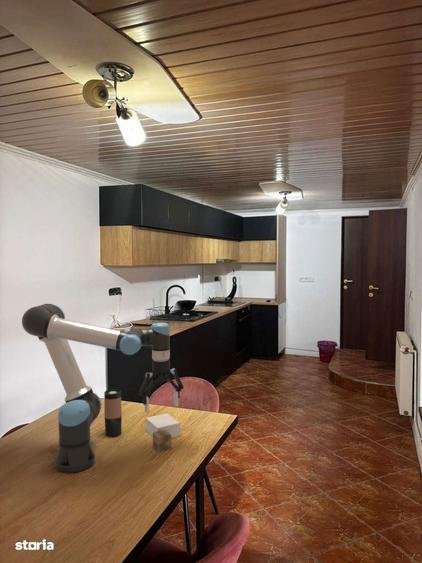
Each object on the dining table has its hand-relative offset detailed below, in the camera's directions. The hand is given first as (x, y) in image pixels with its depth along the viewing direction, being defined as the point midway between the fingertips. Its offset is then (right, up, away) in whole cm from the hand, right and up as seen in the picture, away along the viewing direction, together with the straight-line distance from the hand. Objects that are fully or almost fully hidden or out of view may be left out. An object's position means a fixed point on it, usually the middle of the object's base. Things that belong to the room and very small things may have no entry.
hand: (161, 408), depth 171 cm
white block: (-1, -16, +15) cm, 22 cm away
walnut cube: (0, -17, 0) cm, 17 cm away
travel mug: (-24, -16, +14) cm, 32 cm away
